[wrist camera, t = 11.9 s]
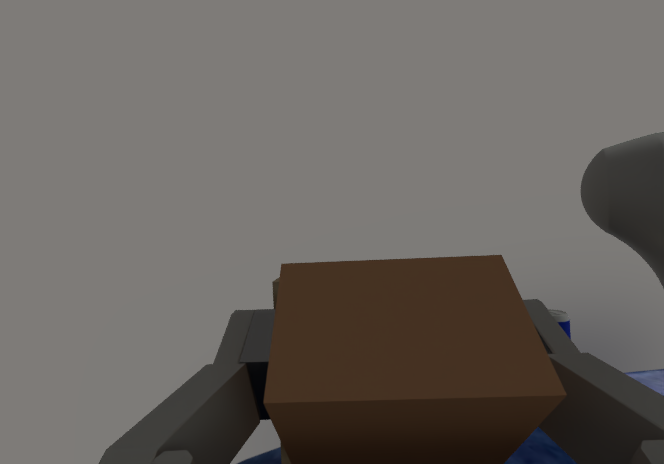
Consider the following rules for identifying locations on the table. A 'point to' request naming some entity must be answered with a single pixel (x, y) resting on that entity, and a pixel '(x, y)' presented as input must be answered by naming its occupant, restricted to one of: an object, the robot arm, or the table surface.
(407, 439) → the rust strip
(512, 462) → the table surface
